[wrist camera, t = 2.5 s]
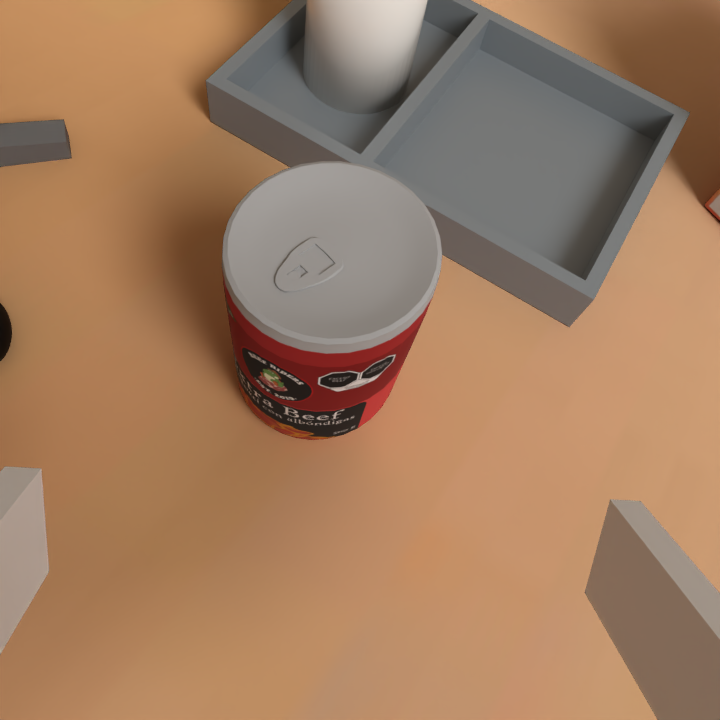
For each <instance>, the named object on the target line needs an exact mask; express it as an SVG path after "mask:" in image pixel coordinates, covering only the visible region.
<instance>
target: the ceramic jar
mask: <svg viewBox="0 0 720 720" xmlns="http://www.w3.org/2000/svg"><path fill="white" fill-rule="evenodd" d="M427 1H428V0H307V1H306V22H305V43H304V63H303V75H304V79H305V82H306V84H307V86H308V88H309V89H310V91H311V92H312V93H313V94H314V95H315V96H316V97H317V98H318V99H319V100H320V101H322V102H323V103H325V104H326V105H328V106H330V107H332V108H334V109H337V110H339V111H343V112H347V113H352V114H373V113H378V112H382V111H384V110H387V109H389V108H391V107H393V106H394V105H395V104H397V103H398V102H399V101H400V100H401V99H402V97H403V96H404V95H405V92H406V90H407V87H408V83H409V78H410V74H411V70H412V65H413V61H414V57H415V53H416V48H417V44H418V40H419V35H420V31H421V27H422V23H423V18H424V14H425V10H426V5H427Z"/></svg>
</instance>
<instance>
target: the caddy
mask: <svg viewBox="0 0 720 720" xmlns="http://www.w3.org/2000/svg"><path fill="white" fill-rule="evenodd" d="M306 1H307V0H292V1H291V2H290V3H289V4H288V5H287V6H286V7H285V8H284V9H283V10H282V11H280V12H279V13H278V14H277V15H276V16H275V17H274V18H273V19H272V20H271V21H270V22H269V23H267V24H266V25H265V26H264V27H263V28H262V29H261V30H260V31H259V32H258V33H257V34H256V35H254V36H253V37H252V38H251V39H250V40H249V41H248V42H247V43H246V44H245V45H244V46H243V47H242V48H240V49H239V50H238V51H237V52H236V53H235V54H234V55H233V56H232V57H231V58H230V59H229V60H227V61H226V62H225V63H224V64H223V65H222V66H221V67H220V68H219V69H218V70H217V71H216V72H214V73H213V74H212V75H211V76H210V77H209V78H208V79H207V80H206V87H207V95H208V104H209V112H210V120H211V122H213V123H214V124H216V125H218V126H220V127H221V128H223V129H225V130H227V131H228V132H230V133H232V134H234V135H235V136H237V137H239V138H241V139H242V140H244V141H246V142H247V143H249V144H251V145H253V146H254V147H256V148H258V149H260V150H261V151H263V152H265V153H267V154H268V155H270V156H272V157H274V158H275V159H277V160H279V161H281V162H282V163H284V164H286V165H288V166H289V167H294V166H297V165H300V164H306V163H313V162H320V161H342V162H348V163H354V164H360V165H364V166H367V167H370V168H373V169H376V170H379V171H381V172H383V173H385V174H387V175H389V176H391V177H393V178H395V179H397V180H398V181H400V182H401V183H402V184H404V185H405V186H406V187H408V188H409V189H410V190H412V191H413V192H414V194H415V195H416V196H417V197H418V198H419V199H420V200H421V201H422V202H423V203H424V204H425V206H426V208H427V209H428V211H429V212H430V214H431V216H432V217H433V219H434V221H435V224H436V227H437V229H438V232H439V235H440V240H441V248H442V254H443V255H445V256H446V257H448V258H450V259H452V260H453V261H455V262H457V263H459V264H460V265H462V266H464V267H466V268H467V269H469V270H471V271H472V272H474V273H476V274H478V275H479V276H481V277H483V278H485V279H486V280H488V281H490V282H492V283H493V284H495V285H497V286H499V287H500V288H502V289H504V290H506V291H507V292H509V293H511V294H513V295H514V296H516V297H518V298H520V299H521V300H523V301H525V302H527V303H528V304H530V305H532V306H534V307H535V308H537V309H539V310H541V311H542V312H544V313H546V314H547V315H549V316H551V317H553V318H554V319H556V320H558V321H560V322H561V323H563V324H565V325H567V326H568V327H570V326H571V325H572V323H573V322H574V321H575V320H576V319H577V318H578V317H579V316H580V315H581V313H582V312H583V311H584V310H585V309H586V308H587V307H588V306H589V304H590V303H591V302H592V301H593V300H594V298H595V296H596V295H597V293H598V291H599V289H600V287H601V285H602V283H603V281H604V279H605V277H606V275H607V273H608V271H609V269H610V267H611V265H612V263H613V262H614V260H615V258H616V256H617V254H618V252H619V250H620V248H621V246H622V244H623V242H624V240H625V238H626V236H627V234H628V232H629V230H630V229H631V227H632V225H633V223H634V221H635V219H636V217H637V215H638V213H639V211H640V209H641V207H642V205H643V203H644V201H645V199H646V198H647V196H648V194H649V192H650V190H651V188H652V186H653V184H654V182H655V180H656V178H657V176H658V174H659V172H660V170H661V168H662V166H663V165H664V163H665V161H666V159H667V157H668V155H669V153H670V151H671V149H672V147H673V145H674V143H675V141H676V139H677V137H678V135H679V133H680V132H681V130H682V128H683V126H684V124H685V122H686V120H687V118H688V116H689V114H690V112H688V111H686V110H684V109H682V108H680V107H678V106H676V105H674V104H672V103H670V102H668V101H666V100H664V99H662V98H660V97H658V96H657V95H655V94H653V93H651V92H649V91H647V90H645V89H643V88H641V87H639V86H637V85H635V84H633V83H631V82H629V81H627V80H625V79H623V78H621V77H620V76H618V75H616V74H614V73H612V72H610V71H608V70H606V69H604V68H602V67H600V66H598V65H596V64H594V63H592V62H590V61H588V60H586V59H584V58H582V57H581V56H579V55H577V54H575V53H573V52H571V51H569V50H567V49H565V48H563V47H561V46H559V45H557V44H555V43H553V42H551V41H549V40H547V39H545V38H543V37H542V36H540V35H538V34H536V33H534V32H532V31H530V30H528V29H526V28H524V27H522V26H520V25H518V24H516V23H514V22H512V21H510V20H508V19H506V18H504V17H503V16H501V15H499V14H497V13H495V12H493V11H491V10H489V9H487V8H485V7H483V6H481V5H479V4H477V3H475V2H473V1H471V0H428V1H427V5H426V10H425V14H424V18H423V23H422V27H421V31H420V35H419V40H418V44H417V48H416V53H415V57H414V61H413V65H412V70H411V74H410V78H409V83H408V87H407V90H406V92H405V95H404V96H403V97H402V99H401V100H400V101H399V102H398V103H397V104H395V105H394V106H393V107H391V108H389V109H387V110H384V111H382V112H378V113H373V114H352V113H347V112H343V111H339V110H337V109H334V108H332V107H330V106H328V105H326V104H325V103H323V102H322V101H320V100H319V99H318V98H317V97H316V96H315V95H314V94H313V93H312V92H311V91H310V89H309V88H308V86H307V84H306V82H305V79H304V75H303V63H304V43H305V22H306Z"/></svg>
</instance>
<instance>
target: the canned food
mask: <svg viewBox="0 0 720 720" xmlns="http://www.w3.org/2000/svg"><path fill="white" fill-rule="evenodd" d="M441 260H442V248H441V240H440V235H439V232H438V229H437V227H436V224H435V221H434V219H433V217H432V216H431V214H430V212H429V211H428V209H427V208H426V206H425V204H424V203H423V202H422V201H421V200H420V199H419V198H418V197H417V196H416V195H415V194H414V192H413V191H412V190H410V189H409V188H408V187H406V186H405V185H404V184H402V183H401V182H400V181H398V180H397V179H395V178H393V177H391V176H389V175H387V174H385V173H383V172H381V171H379V170H376V169H373V168H370V167H367V166H364V165H360V164H354V163H348V162H342V161H320V162H313V163H306V164H300V165H297V166H294V167H291V168H288V169H285V170H282V171H280V172H278V173H276V174H274V175H272V176H270V177H268V178H266V179H265V180H263V181H262V182H261V183H259V184H258V185H257V186H255V187H254V188H253V189H251V190H250V191H249V192H248V193H247V195H246V196H245V197H244V198H243V199H242V200H241V201H240V203H239V204H238V205H237V206H236V208H235V210H234V212H233V214H232V215H231V217H230V219H229V221H228V224H227V227H226V231H225V234H224V238H223V250H222V272H223V284H224V290H225V297H226V304H227V311H228V317H229V324H230V331H231V338H232V344H233V351H234V358H235V365H236V371H237V377H238V382H239V388H240V390H241V392H242V395H243V397H244V399H245V402H246V403H247V404H248V406H249V407H250V408H251V410H252V411H253V413H254V414H255V415H256V416H257V417H259V418H260V419H261V420H262V421H263V422H264V423H265V424H267V425H268V426H270V427H272V428H274V429H275V430H277V431H279V432H281V433H283V434H286V435H289V436H292V437H295V438H301V439H309V440H315V439H328V438H332V437H336V436H340V435H344V434H346V433H348V432H350V431H352V430H355V429H357V428H359V427H360V426H361V425H363V424H364V423H366V422H367V421H368V420H370V419H371V418H372V417H373V416H374V415H375V414H376V413H377V412H378V411H379V410H380V408H381V407H382V406H383V404H384V402H385V401H386V399H387V398H388V396H389V394H390V392H391V390H392V387H393V385H394V383H395V381H396V379H397V376H398V374H399V372H400V370H401V368H402V365H403V363H404V361H405V359H406V357H407V354H408V352H409V350H410V348H411V345H412V343H413V341H414V339H415V337H416V334H417V332H418V330H419V328H420V326H421V323H422V321H423V319H424V317H425V315H426V312H427V309H428V307H429V304H430V302H431V299H432V297H433V294H434V291H435V289H436V286H437V283H438V279H439V274H440V269H441Z"/></svg>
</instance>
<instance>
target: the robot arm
mask: <svg viewBox="0 0 720 720" xmlns="http://www.w3.org/2000/svg"><path fill="white" fill-rule="evenodd" d="M48 573H49V563H48V550H47V537H46V523H45V510H44V497H43V484H42V471H41V468H23V467H4V468H3V469H2V470H1V471H0V654H1V652H2V650H3V649H4V647H5V645H6V644H7V642H8V640H9V639H10V637H11V635H12V634H13V632H14V630H15V628H16V627H17V625H18V623H19V622H20V620H21V618H22V617H23V615H24V613H25V612H26V610H27V608H28V606H29V605H30V603H31V601H32V600H33V598H34V596H35V595H36V593H37V591H38V590H39V588H40V586H41V584H42V583H43V581H44V579H45V578H46V576H47V574H48ZM585 594H586V596H587V597H588V599H589V601H590V603H591V604H592V606H593V608H594V610H595V611H596V613H597V615H598V617H599V618H600V620H601V622H602V624H603V625H604V627H605V629H606V630H607V632H608V634H609V636H610V637H611V639H612V641H613V643H614V644H615V646H616V648H617V650H618V651H619V653H620V655H621V657H622V658H623V660H624V662H625V664H626V665H627V667H628V669H629V671H630V672H631V674H632V676H633V678H634V679H635V681H636V683H637V684H638V686H639V688H640V690H641V691H642V693H643V695H644V697H645V698H646V700H647V702H648V704H649V705H650V707H651V709H652V711H653V712H654V714H655V716H656V718H657V719H658V720H720V593H719V592H718V591H717V590H716V588H715V587H714V586H713V585H712V584H711V583H710V581H709V580H708V579H707V578H706V577H705V576H704V574H703V573H702V572H701V571H700V570H699V569H698V567H697V566H696V565H695V564H694V563H693V562H692V560H691V559H690V558H689V557H688V556H687V555H686V554H685V552H684V551H683V550H682V549H681V548H680V547H679V545H678V544H677V543H676V542H675V541H674V540H673V538H672V537H671V536H670V535H669V534H668V533H667V531H666V530H665V529H664V528H663V527H662V526H661V524H660V523H659V522H658V521H657V520H656V519H655V517H654V516H653V515H652V514H651V513H650V512H649V510H648V509H647V508H646V507H645V506H644V505H643V503H642V502H641V501H630V500H611V499H610V502H609V505H608V509H607V513H606V516H605V520H604V524H603V528H602V531H601V535H600V539H599V542H598V546H597V550H596V553H595V557H594V561H593V564H592V568H591V572H590V575H589V579H588V583H587V586H586V590H585Z"/></svg>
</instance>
